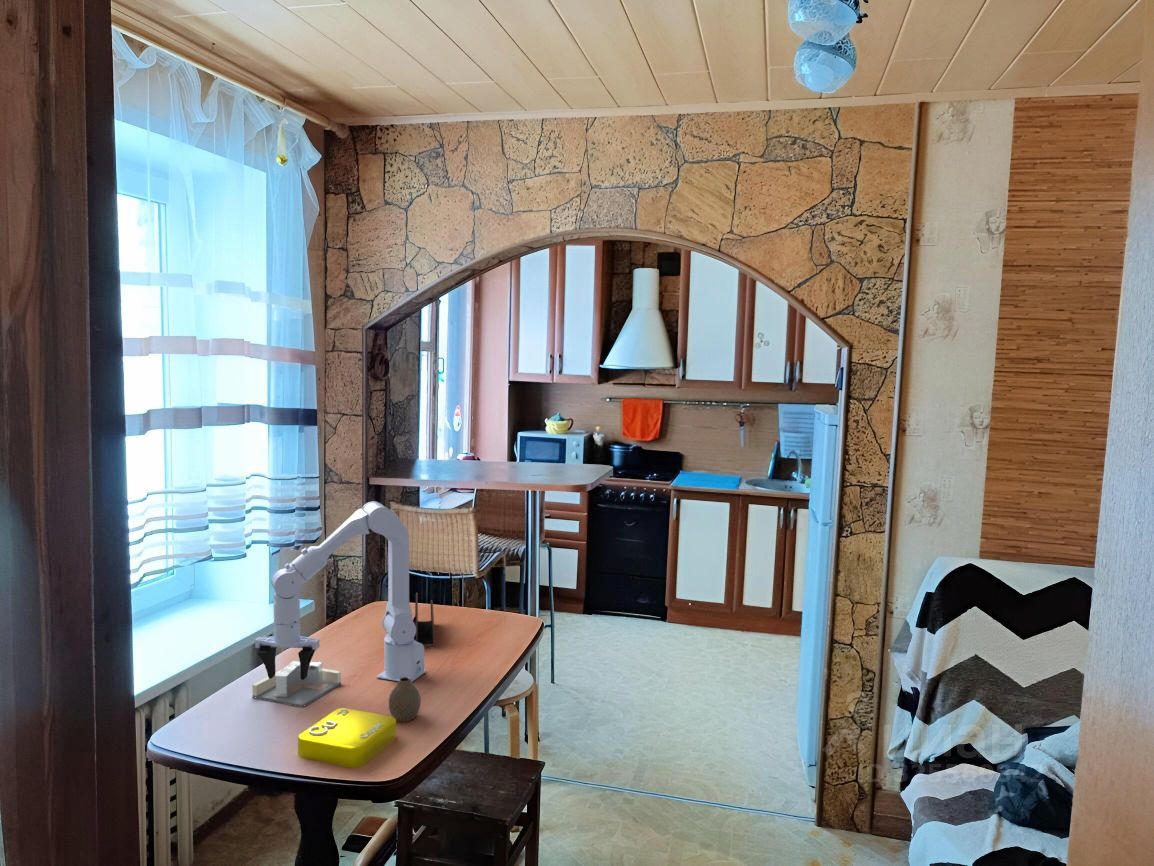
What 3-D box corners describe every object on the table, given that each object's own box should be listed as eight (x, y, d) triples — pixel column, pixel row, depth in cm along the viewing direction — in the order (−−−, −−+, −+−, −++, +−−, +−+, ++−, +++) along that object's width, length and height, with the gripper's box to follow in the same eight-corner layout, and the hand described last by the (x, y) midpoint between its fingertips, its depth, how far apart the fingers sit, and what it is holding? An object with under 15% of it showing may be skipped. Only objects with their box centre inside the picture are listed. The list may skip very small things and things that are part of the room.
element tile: (358, 771, 148) (358, 747, 148) (293, 757, 153) (292, 734, 153) (400, 736, 162) (400, 714, 162) (339, 725, 167) (339, 703, 167)
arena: (340, 683, 188) (340, 671, 187) (302, 707, 174) (302, 694, 174) (293, 675, 192) (293, 663, 192) (252, 697, 179) (252, 684, 179)
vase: (393, 727, 166) (392, 687, 165) (385, 714, 172) (385, 676, 171) (424, 721, 169) (424, 682, 168) (415, 708, 175) (415, 671, 174)
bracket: (308, 698, 178) (307, 677, 177) (276, 697, 178) (275, 675, 178) (322, 682, 187) (322, 662, 186) (292, 681, 187) (291, 661, 186)
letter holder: (397, 650, 211) (397, 599, 210) (399, 626, 230) (399, 580, 229) (434, 648, 213) (435, 598, 212) (433, 624, 232) (433, 578, 231)
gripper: (324, 616, 184) (324, 671, 185) (264, 614, 184) (265, 669, 185) (312, 626, 177) (313, 683, 178) (250, 624, 177) (251, 681, 178)
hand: (287, 677), depth 181 cm, fingers open, 7 cm apart
